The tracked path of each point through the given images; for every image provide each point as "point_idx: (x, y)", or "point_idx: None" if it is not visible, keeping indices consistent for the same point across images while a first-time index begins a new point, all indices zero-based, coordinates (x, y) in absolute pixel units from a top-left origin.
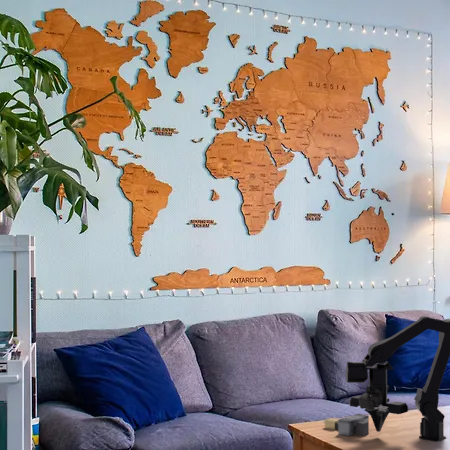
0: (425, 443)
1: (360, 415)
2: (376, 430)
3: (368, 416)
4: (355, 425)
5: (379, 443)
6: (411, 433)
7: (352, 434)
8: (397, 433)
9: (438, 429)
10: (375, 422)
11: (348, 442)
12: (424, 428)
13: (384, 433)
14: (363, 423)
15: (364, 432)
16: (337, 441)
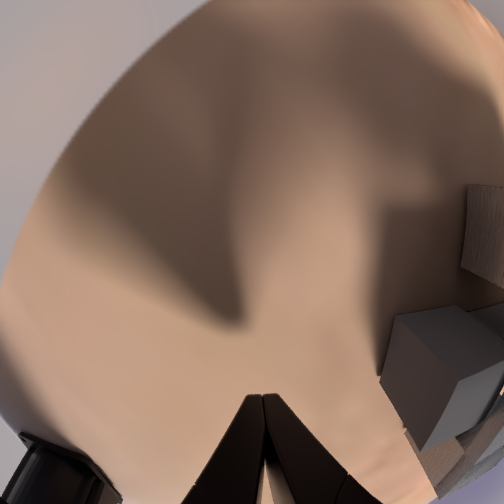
0: (10, 392)
1: (491, 460)
2: (276, 397)
3: (438, 494)
4: None
5: (116, 183)
6: None
7: (466, 246)
8: None
9: (13, 475)
10: (294, 471)
11: (360, 13)
12: (55, 492)
13: None
14: (461, 386)
15: (404, 340)
16: (426, 10)
